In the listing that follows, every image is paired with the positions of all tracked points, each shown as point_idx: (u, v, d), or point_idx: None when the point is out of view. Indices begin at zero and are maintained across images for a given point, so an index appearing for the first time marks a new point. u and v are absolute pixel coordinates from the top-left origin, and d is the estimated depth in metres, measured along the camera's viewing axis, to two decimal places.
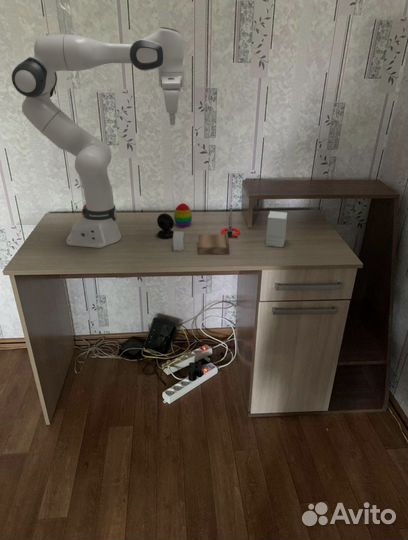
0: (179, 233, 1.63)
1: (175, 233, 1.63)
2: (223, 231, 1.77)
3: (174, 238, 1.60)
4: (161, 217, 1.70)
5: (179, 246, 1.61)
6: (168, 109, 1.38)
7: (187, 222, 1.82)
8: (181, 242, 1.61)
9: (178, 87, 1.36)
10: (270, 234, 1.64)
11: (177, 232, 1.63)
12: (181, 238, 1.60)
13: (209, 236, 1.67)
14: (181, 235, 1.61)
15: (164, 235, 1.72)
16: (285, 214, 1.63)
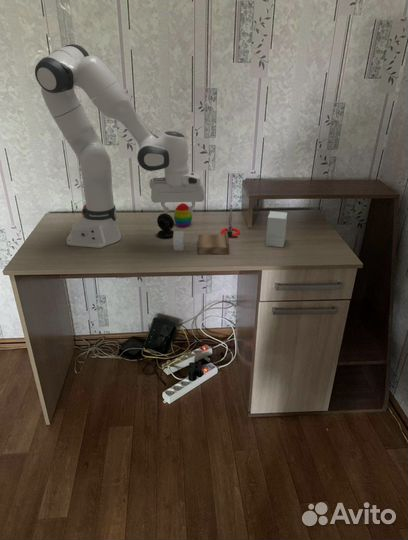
0: (179, 233, 1.63)
1: (175, 233, 1.63)
2: (223, 231, 1.77)
3: (174, 238, 1.60)
4: (161, 217, 1.70)
5: (179, 246, 1.61)
6: None
7: (187, 222, 1.82)
8: (181, 242, 1.61)
9: None
10: (270, 234, 1.64)
11: (177, 232, 1.63)
12: (181, 238, 1.60)
13: (209, 236, 1.67)
14: (181, 235, 1.61)
15: (164, 235, 1.72)
16: (285, 214, 1.63)
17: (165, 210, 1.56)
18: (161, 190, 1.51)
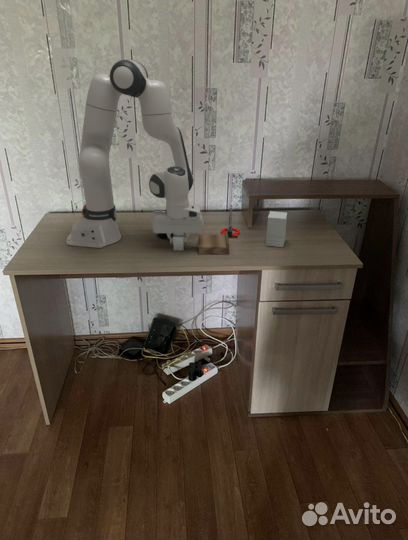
0: (179, 233, 1.63)
1: (175, 233, 1.63)
2: (223, 231, 1.77)
3: (174, 238, 1.60)
4: None
5: (179, 245, 1.61)
6: (203, 230, 1.60)
7: None
8: (181, 242, 1.61)
9: None
10: (270, 234, 1.64)
11: None
12: (181, 238, 1.60)
13: (209, 236, 1.67)
14: (181, 235, 1.61)
15: (164, 235, 1.72)
16: (285, 214, 1.63)
17: (171, 240, 1.62)
18: (163, 222, 1.58)
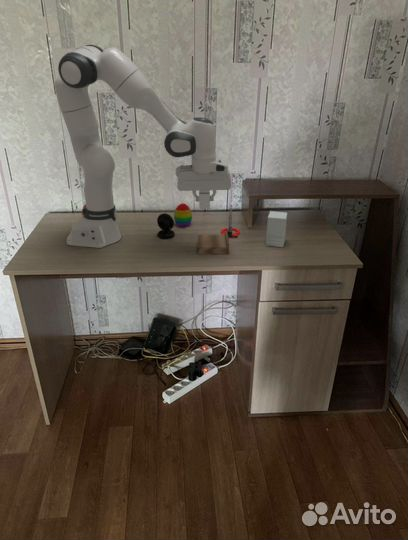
0: (205, 190, 1.54)
1: (200, 190, 1.54)
2: (223, 231, 1.77)
3: (200, 195, 1.51)
4: (161, 217, 1.70)
5: (205, 204, 1.53)
6: None
7: (187, 222, 1.82)
8: (207, 200, 1.52)
9: None
10: (270, 234, 1.64)
11: (203, 190, 1.54)
12: (207, 195, 1.51)
13: (209, 236, 1.67)
14: (207, 192, 1.52)
15: (164, 235, 1.72)
16: (285, 214, 1.63)
17: (196, 198, 1.53)
18: (188, 178, 1.49)
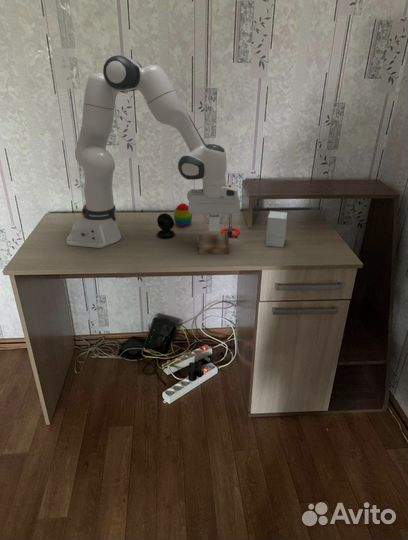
0: (214, 213, 1.59)
1: (210, 213, 1.59)
2: (223, 231, 1.77)
3: (210, 218, 1.56)
4: (161, 217, 1.70)
5: (215, 226, 1.58)
6: None
7: (187, 222, 1.82)
8: (217, 222, 1.57)
9: None
10: (270, 234, 1.64)
11: None
12: (217, 218, 1.56)
13: (209, 236, 1.67)
14: (217, 215, 1.57)
15: (164, 235, 1.72)
16: (285, 214, 1.63)
17: (206, 221, 1.59)
18: (199, 201, 1.54)
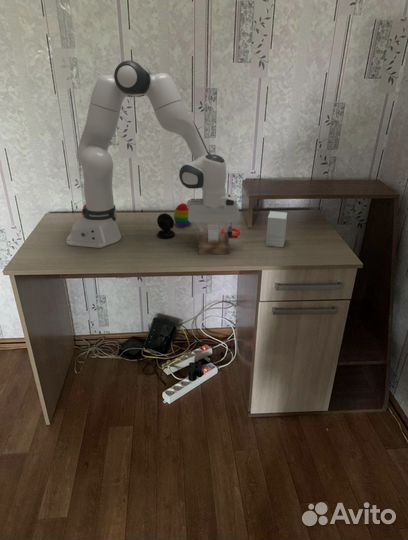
0: (213, 226, 1.61)
1: (209, 226, 1.61)
2: None
3: (209, 231, 1.59)
4: (161, 217, 1.70)
5: (214, 238, 1.60)
6: None
7: (187, 222, 1.82)
8: (216, 235, 1.59)
9: None
10: (270, 234, 1.64)
11: (212, 225, 1.62)
12: (216, 230, 1.59)
13: None
14: (216, 228, 1.60)
15: (164, 235, 1.72)
16: (285, 214, 1.63)
17: (200, 230, 1.60)
18: (198, 211, 1.56)
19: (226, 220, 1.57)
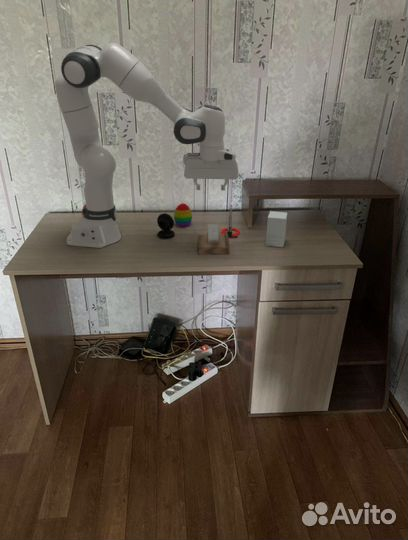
0: (213, 226, 1.61)
1: (209, 226, 1.61)
2: (223, 231, 1.77)
3: (209, 231, 1.59)
4: (161, 217, 1.70)
5: (214, 238, 1.60)
6: (237, 176, 1.51)
7: (187, 222, 1.82)
8: (216, 235, 1.59)
9: None
10: (270, 234, 1.64)
11: (212, 225, 1.62)
12: (216, 230, 1.59)
13: None
14: (216, 228, 1.60)
15: (164, 235, 1.72)
16: (285, 214, 1.63)
17: (197, 187, 1.53)
18: (195, 166, 1.49)
19: (224, 176, 1.50)
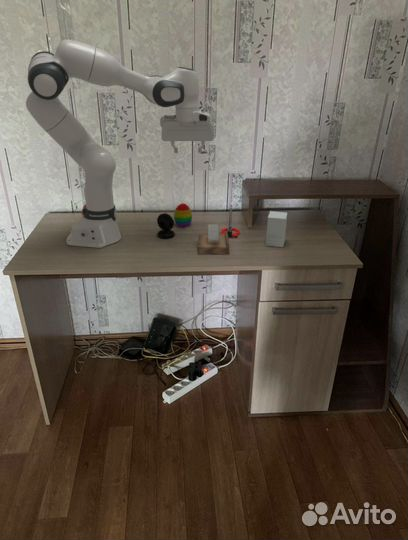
0: (213, 226, 1.61)
1: (209, 226, 1.61)
2: (223, 231, 1.77)
3: (209, 231, 1.59)
4: (161, 217, 1.70)
5: (214, 238, 1.60)
6: (213, 137, 1.55)
7: (187, 222, 1.82)
8: (216, 235, 1.59)
9: None
10: (270, 234, 1.64)
11: (212, 225, 1.62)
12: (216, 230, 1.59)
13: None
14: (216, 228, 1.60)
15: (164, 235, 1.72)
16: (285, 214, 1.63)
17: (175, 150, 1.58)
18: (172, 128, 1.53)
19: (200, 138, 1.55)
